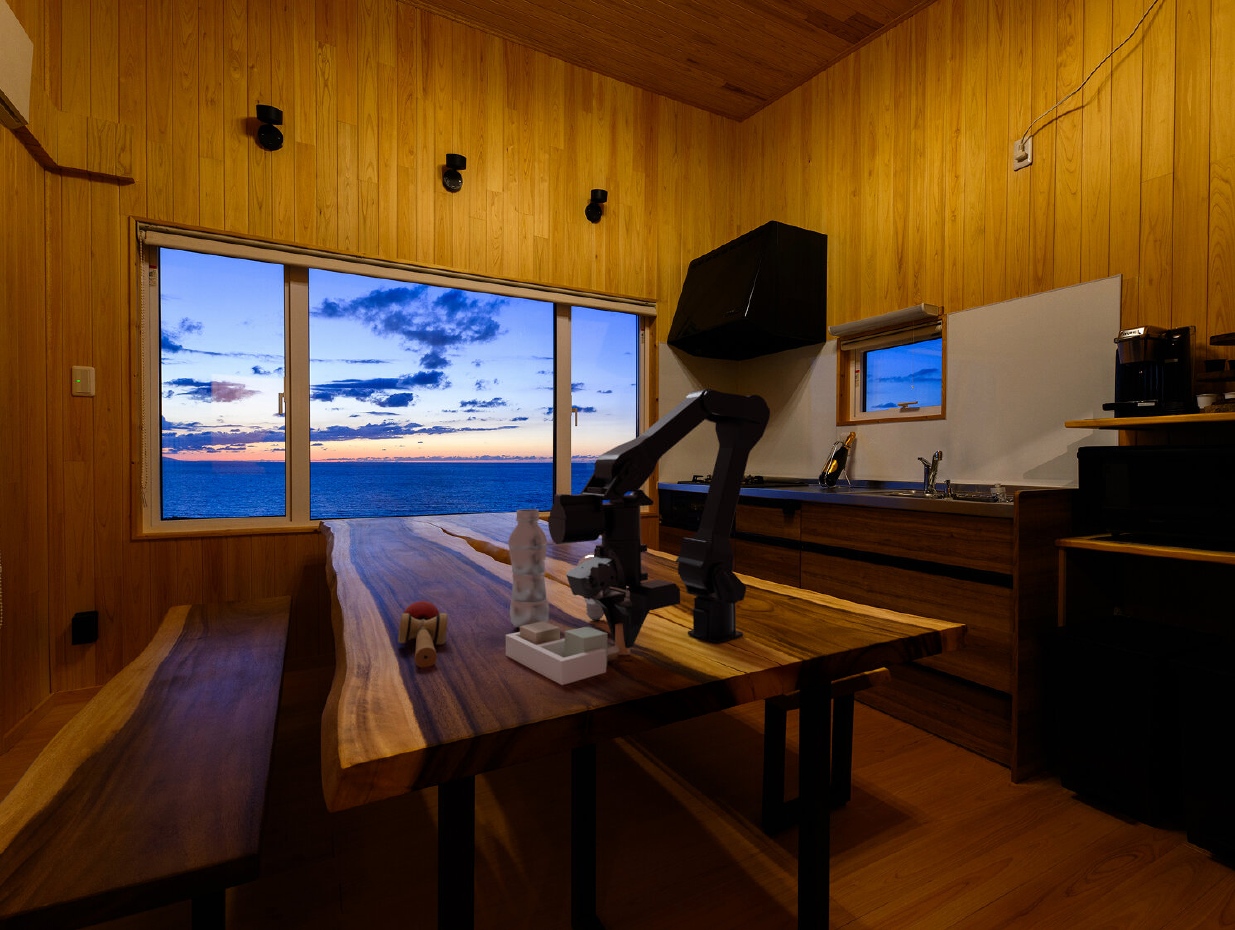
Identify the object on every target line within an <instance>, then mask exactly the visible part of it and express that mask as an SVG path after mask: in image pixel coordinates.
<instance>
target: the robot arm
mask: <svg viewBox="0 0 1235 930" xmlns="http://www.w3.org/2000/svg"><path fill="white" fill-rule="evenodd" d="M770 418H771V409H770V407H769V406H768V403H767V401H766V400H765V399H764V397H762V396H760V395H758V394H752V395H751V394H750V395H744V394H743V395H742V394H735V393H727V392H723V391H722V392H721V391H719V390H715V389H712V388H704V389H700V390H693V391H691V392H690V393H688V395H686V397H685V398H684V399H683V400H682V401H680V402H679V403H678V404H677V405H676V406H675V407H673V408H672V409H671V410H670V411H669V412H667V413H666V414H664V415H663V416H662V417H660V418H659V420H657V421H656V422H655V423H654V424H652V426H650V427H649V428H647V429H646V430H645V431H644V432H642V433H641V434H640V435H639V436H637V437H635V438H633V439H631V440H629V441H627V442H626V441H625V442H624V443H621V444H620V445H617V446H614V447H613V448H611V449H610V450H609V449H608V450H607V451H606V452H604V453H602V454H601V455H599V456H598V458H597V459H596V460H595V461H594V470H593V473H592V475H591V476H590V478H589V480H588V481H587V483H586V484H585V486H584V487H583V489H582V490H581V491H580V493H579V494H566V493H556V494H555V495H554V503H553V504H552V505H551V508H550V513H549V516H548V517H547V518H548V519H547V520H548V521H547V526H548V531H549V534H550V535H549V536H550V538H551V540H552V541H553V543H554V544H555V545H565V544H573V543H576V544H577V543H583V542H594V541H597V540H598V539H599V538H600V536H601V544H597V545H595V548H594V550H593V551H594V552H593V553H594V558H592V559H590V560H587V561H585V562H583V563H582V564H580V565H578V566H577V565H576V566H575V567H573V568H572V569H570V570H568V571H567V572H566V574H565V575H566V579H567V581H568V584H569V587H570V589H571V593H572V595H573V596H580V597H583V599H584V598H586V599H592V600H594V601H595V602H596V603H597V604H599V605H600V606H601V608H602V610H603V612H604V615H603V616H604V617H605V620H606V622H607V625H608V628H609V631H610V635H611V638H612V641H613V643H614V644H615V625H616V624H618V623H623V634H624V642H625V647H626V648H630V649H631V648H633V647H634V645H635V642H636V640H637V638H638V635H639V634H640V631H641V629H642V627H643V625H644V622H645V620H646V619H647V617H648V615H649V613H650V611H655V610H659V609H663V608H667V607H672V606H675V605H680V604H681V588H680V587H679V586H678V584H676V583H675V582H670V581H667V580H662V579H655V580H649V577H648V576H649V575H648V573H649V572H646V571H642V570H643V569H642V553H646V552H648V544H646V543H642V530H641V529H642V528H641V525H642V524H641V521H642V520H641V516H642V515H641V507H644V506H646V507H648V506H653V505H654V503H655V502H654V500H653V499H652V498H650V497H649V496H648V495H647V494H646V493H645V491H644V489H641V488H642V487H643V485H644V484H645V483H646V482H647V481H648V480H649V478H650V477H651V476H652V475H653V474H654V472H655V471H656V467H657V464H658V462H659V461H660V459H662V457H663V456H664V455H666V453H668V452H669V451H670V449H673V447H674V446H676V445H677V444H678V443H679V442H680V441H682V440H683V439H684V438H685V437H686V436H687V435H689V434H690V433H691V432H692V431H693V430H695V428H697V427H698V426H700V424H701V423H703V422H704V421H707V422H709V423H714V424H715V433H716V437H717V441H718V444H719V445H718V451H717V454H716V459H715V464H714V467H713V472H712V473H711V474H712V475H711V479H710V483H709V486H708V487H709V488H708V491H707V495H706V498H705V499H706V500H705V503H704V508H703V510H702V516H701V520H700V522H699V527H698V530H697V532H695V533H694V535H693V537H692V538H688V537H683V538H682V541H681V543H680V552H679V554H678V556H677V558H676V560H675V562H676V563H678V564H677V565H678V566H677V574H678V576H679V577H680V580H681V581H682V583H684V587H685V589H686V592H687V594H688V595H694V596H696V597H694V599H693V600H694V601H693V603H694V608H692V614H693V616H692V619H693V620H692V622H693V623H692V625H693V626H692V627H693V628H692V630H691V629H690V630H688V631H687V635H688V636H691V637H694V638H698V639H701V640H703V641H706V642H711V643H714V644H720V643H723V642H726V641H730V640H731V641H732V640H734V639H737V638H741V637H743V636H744V632H742V631H740V630H737V627H736V626H737V625H736V624H737V622H736V621H737V619H736V611H737V610H736V604H737V603H738V602H740V601H741V602H742V601H744V599H745V596H746V591H747V586H746V585H745V583H743V582H742V580H741V579H740V578H739V577H738V576H737V575H736V574H735V572H734V571H733V569H734V559H735V556H734V552H733V548H732V543H731V541H730V535H731V531H732V527H733V522H734V519H735V513H736V510H737V507H738V506H737V505H738V502H739V498H740V493H741V489H742V486H743V482H744V477H745V473H746V469H747V464H748V460H749V457H750V454H751V451H752V450H753V449H754V447H755V446H756V445H757V444H758V443H759V441H760V440H761V439H762V438H763V437H764V433H765V432H766V429H767V427H768V424H769V421H770ZM628 492H629V493H630V492H631V493H630V494H627V493H628ZM604 501H609V502H604ZM648 580H649V581H648ZM643 581H644V582H643Z"/></svg>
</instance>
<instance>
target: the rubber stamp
mask: <svg viewBox="0 0 1235 930" xmlns="http://www.w3.org/2000/svg"><path fill="white" fill-rule="evenodd" d="M564 638H565V652H564V658H565V657H568V656H572V655H576V654H580V653H584V652H588V651H592V650H595V649H599V648H603V649H605V650H606V668H607V667H608V656H610V655H614V654H616V655H619V656H626V655H630V654H631V648H626V647H625V642H624V634H623V623H618V624H616V625H615V643H614V645H613V646H609V647H608V633H607V632H605V631H601V630H599V629H596V628H594V627H590V626H583V627H579V628H575V629H569V630H565V631H564Z"/></svg>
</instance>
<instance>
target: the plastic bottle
mask: <svg viewBox="0 0 1235 930" xmlns="http://www.w3.org/2000/svg"><path fill="white" fill-rule="evenodd" d="M539 514H540V511H539V509H538V508H537V509H536V508H535V509H534V508H529V509H527V508H525V509H523V508H522V509H517V510H516V518H515V521H516V522H517V525H516V527H515V528H514V529H513V530H512V532H511V534H510V536H509V538H508V542H507V544H508V550H509V556H510V561H511V562H510V563H511V572H512V588H511V589H512V590H511V601H510V607H509V608H510V609H509V616H510V617H509V618H510V621H511V623H512V625H513V626H514V627H516V628H519V629H520V626H523V625H528V624H533V623H538V622H542V621H544V622H547V623H548V621H549V616H550V606H549V601H548V598H547V591H546V590H547V588H546V582H545V581H546V580H545V578H546V576H545V575H546V573H545V572H546V557H547V546H548V539H547V536H546V533H545V532H544V531H543V529H542V528H541V526H540V525H539V521H540V517H539V516H540V515H539Z"/></svg>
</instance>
